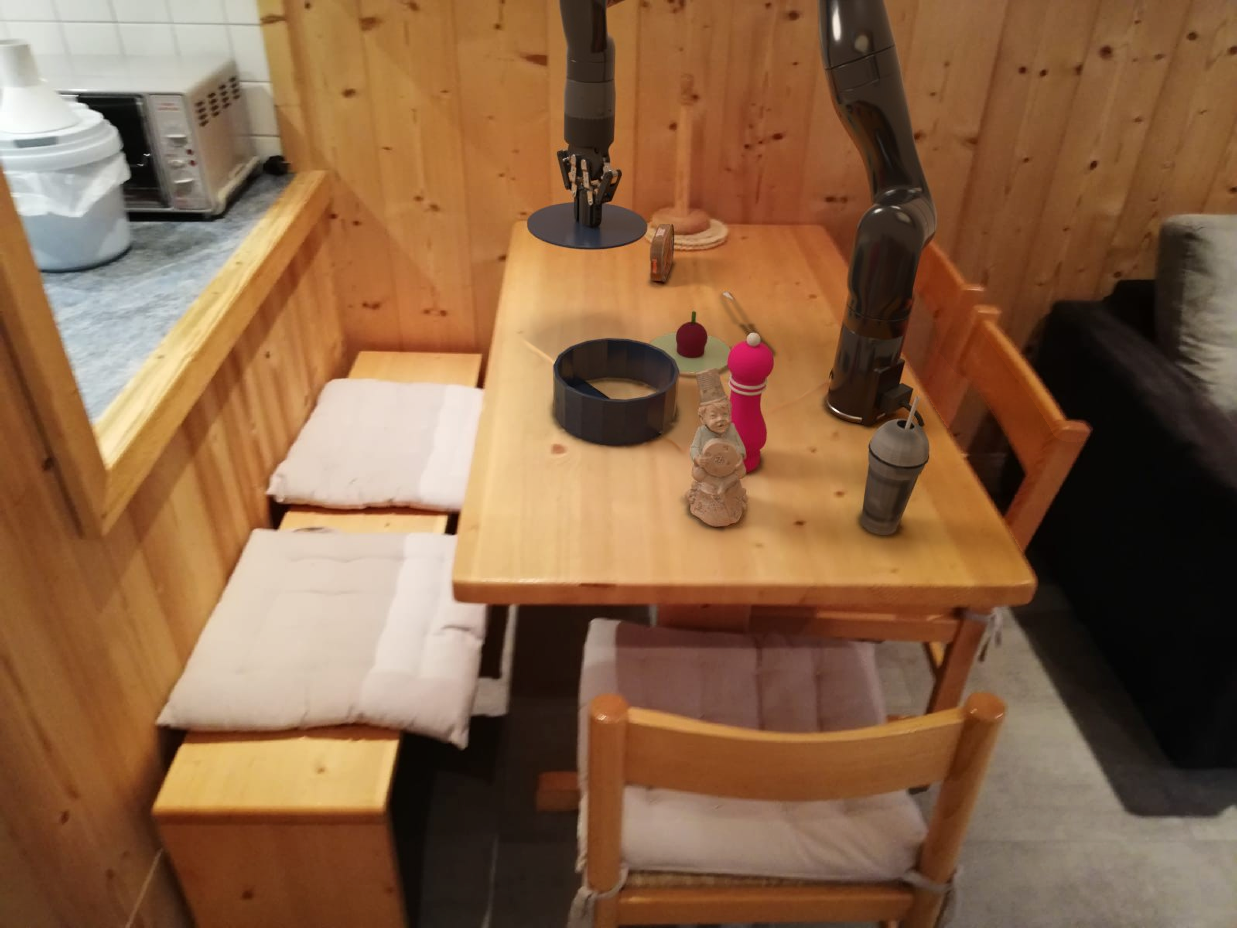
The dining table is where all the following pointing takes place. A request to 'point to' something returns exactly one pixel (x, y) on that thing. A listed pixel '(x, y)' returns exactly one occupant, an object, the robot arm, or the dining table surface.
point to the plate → (711, 358)
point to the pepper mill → (749, 394)
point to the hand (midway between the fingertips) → (587, 222)
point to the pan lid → (570, 233)
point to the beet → (691, 339)
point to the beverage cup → (893, 472)
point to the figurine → (716, 457)
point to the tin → (662, 252)
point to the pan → (614, 418)
